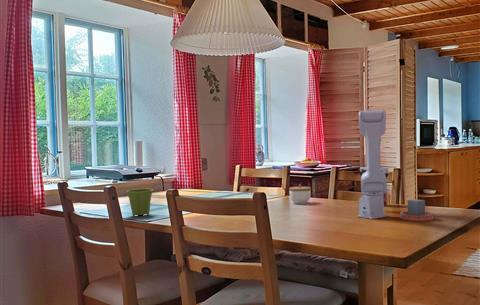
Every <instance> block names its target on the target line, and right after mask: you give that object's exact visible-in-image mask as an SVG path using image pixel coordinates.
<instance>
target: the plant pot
mask: <svg viewBox="0 0 480 305" xmlns="http://www.w3.org/2000/svg"><path fill="white" fill-rule="evenodd" d="M153 191H154V189H153V188H137V189H135V188H134V189H129V190H126V191H125V192H126V193H127V197H128V199H129V200H128V201H129V204H130V208H131V213H132V214H131V215H132V216H133V215H144V214H149V215H150V210H151V209H150V208H151V200H152V195H153V194H152V193H153Z"/></svg>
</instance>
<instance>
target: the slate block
mask: <svg viewBox="0 0 480 305" xmlns="http://www.w3.org/2000/svg"><path fill="white" fill-rule="evenodd" d="M407 211H408V215H425V212H426V200H425V199H415V198H414V199H408V200H407Z"/></svg>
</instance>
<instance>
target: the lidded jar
mask: <svg viewBox="0 0 480 305" xmlns="http://www.w3.org/2000/svg"><path fill="white" fill-rule="evenodd" d="M288 190H289V197H290V199H291V200H290V201H292V202H293V203H294V204H295V205H305V204H307V203H308V202H309V201H310V198H311V194H312V192H311V190H312V187H311V186H302V185H301V183H300V184H298V186H292V187H289V188H288Z"/></svg>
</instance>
